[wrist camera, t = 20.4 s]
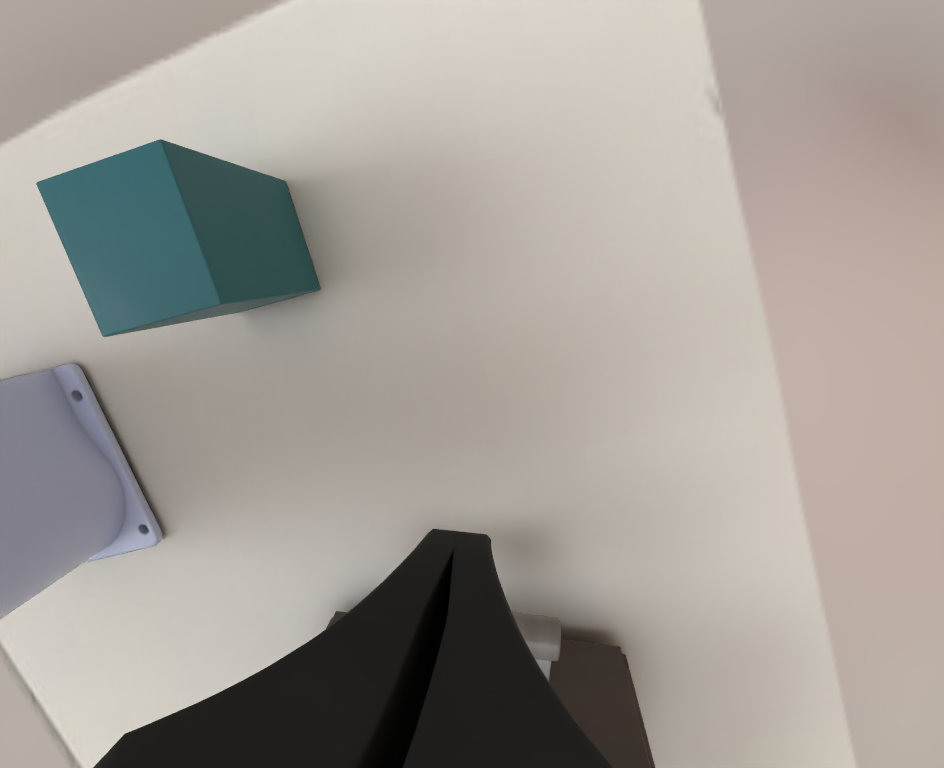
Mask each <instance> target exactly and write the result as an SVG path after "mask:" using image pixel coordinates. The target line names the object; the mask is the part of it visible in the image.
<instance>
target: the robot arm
mask: <svg viewBox="0 0 944 768" xmlns="http://www.w3.org/2000/svg"><path fill="white" fill-rule="evenodd" d="M79 392H80V393H81V395H82V397H81V396H80V394H79ZM145 526H147V527H148V529H147V528H146V527H145ZM162 537H163V535H162V532H161V530H160V528H159V526H158V523H157V521H156V519H155V517H154V515H153V513H152V511H151V509H150V507H149V505H148V503H147V501H146V499H145V497H144V495H143V493H142V491H141V489H140V487H139V485H138V483H137V481H136V479H135V477H134V475H133V473H132V471H131V469H130V467H129V465H128V463H127V460H126V458H125V456H124V454H123V452H122V450H121V448H120V446H119V444H118V442H117V440H116V438H115V436H114V434H113V432H112V430H111V428H110V426H109V424H108V422H107V420H106V418H105V416H104V414H103V412H102V410H101V408H100V406H99V404H98V402H97V400H96V397H95V395H94V393H93V391H92V389H91V387H90V385H89V383H88V381H87V379H86V377H85V375H84V373H83V371H82V370H81V368H80V367H79V366H78V365H76V364H73V363H68V364H63V365H60V366H57V367H54V368H51V369H46V370H42V371H38V372H33V373H29V374H24V375H20V376H16V377H11V378H7V379H3V380H0V619H2V618H3V617H5V616H6V615H8V614H9V613H11V612H12V611H13V610H15V609H16V608H18V607H19V606H21V605H22V604H24V603H25V602H27V601H28V600H29V599H31V598H32V597H34V596H35V595H37V594H38V593H40V592H41V591H43V590H44V589H45V588H47V587H48V586H50V585H51V584H53V583H54V582H56V581H57V580H59V579H60V578H61V577H63V576H64V575H66V574H67V573H69V572H70V571H72V570H73V569H75V568H76V567H77V566H79V565H80V564H82V563H85V562H89V561H93V560H97V559H102V558H106V557H110V556H114V555H118V554H123V553H127V552H131V551H135V550H140V549H144V548H148V547H152V546H155V545H157V544H158V543H159V542H160V541H161V540H162ZM94 768H613V767H612V766H611V764H610V763H609V762H608V761H607V760H606V758H605V757H604V756H603V755H602V753H601V752H600V751H599V750H598V748H597V747H596V746H595V745H594V744H593V742H592V741H591V740H590V739H589V737H588V736H587V735H586V734H585V732H584V731H583V730H582V728H581V727H580V725H579V724H578V723H577V721H576V720H575V718H574V717H573V716H572V714H571V713H570V711H569V710H568V709H567V707H566V706H565V705H564V703H563V702H562V700H561V699H560V698H559V696H558V695H557V693H556V692H555V691H554V689H553V688H552V686H551V684H550V683H549V681H548V680H547V678H546V676H545V675H544V673H543V671H542V670H541V668H540V667H539V665H538V663H537V661H536V660H535V658H534V656H533V654H532V653H531V651H530V649H529V647H528V645H527V643H526V642H525V640H524V638H523V636H522V634H521V632H520V630H519V628H518V625H517V623H516V621H515V619H514V617H513V614H512V612H511V610H510V607H509V605H508V603H507V600H506V598H505V595H504V592H503V589H502V587H501V584H500V581H499V578H498V575H497V572H496V568H495V564H494V560H493V556H492V550H491V539H490V538H489V537H488V536H487V535H486V534H477V533H467V532H458V531H448V530H439V529H433V530H431V531H430V532H429V533H428V534H427V535H426V536H425V538H424V539H423V540H422V541H421V542H420V543H419V545H418V546H417V547H416V548H415V549H414V550H413V551H412V552H411V554H410V555H409V556H408V557H407V558H406V559H405V560H404V561H403V562H402V563H401V564H400V565H399V566H398V567H397V568H396V569H395V570H394V571H393V572H392V573H391V574H390V575H389V576H388V577H387V578H386V579H385V580H384V581H383V582H382V583H381V584H380V585H379V586H378V587H377V588H376V589H375V590H373V591H372V592H371V593H370V594H369V595H368V596H367V597H366V598H364V599H363V600H362V601H361V602H360V603H359V604H358V605H357V606H355V607H354V608H353V609H352V610H351V611H349V612H348V613H347V614H346V615H344V616H343V617H342V618H341V619H339V620H338V621H337V622H335V623H334V624H333V625H331V626H330V627H329V628H327V629H326V630H325V631H323V632H322V633H321V634H319V635H318V636H316V637H315V638H313V639H312V640H310V641H309V642H307V643H306V644H304V645H302V646H301V647H299V648H298V649H296V650H294V651H293V652H291V653H290V654H288V655H286V656H285V657H283V658H282V659H280V660H278V661H277V662H275V663H274V664H272V665H270V666H268V667H267V668H265V669H263V670H261V671H259V672H258V673H256V674H254V675H252V676H250V677H248V678H247V679H245V680H243V681H241V682H239V683H237V684H235V685H233V686H231V687H229V688H227V689H225V690H223V691H221V692H219V693H217V694H215V695H213V696H211V697H209V698H207V699H205V700H203V701H201V702H198V703H196V704H194V705H192V706H189V707H187V708H185V709H182V710H180V711H178V712H176V713H173V714H171V715H169V716H166V717H164V718H162V719H159V720H157V721H155V722H152V723H150V724H148V725H146V726H143V727H141V728H138V729H136V730H133V731H131V732H128V733H126V734H124V735H123V736H122V737H121V738H120V740H119V741H118V742H117V743H116V744H115V745H114V746H113V747H112V748H111V749H110V750H109V751H108V753H107V754H106V755H105V756H104V757H103V758H102V759H101V760H100V761H99V762H98V763H97V764H96V765H95V766H94Z"/></svg>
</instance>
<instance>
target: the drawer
mask: <svg viewBox="0 0 944 768" xmlns="http://www.w3.org/2000/svg"><path fill="white" fill-rule="evenodd" d="M346 614H347V613H346V612H338V611H336V612H335V614H334V616H333V618H332V620H331V622H330V624H329V626H328V628H329V627H330V626H331V625H333V624H334V623H335V622H337V621H338V620H339V619H341V618H342V617H343V616H344V615H346ZM512 614H513V617H514V619H515V621H516V623H517V625H518V628H519V630H520V632H521V634H522V636H523V638H524V640H525V642H526V643H527V645H528V647H529V649H530V651H531V653H532V654H533V656H534V658H535V660H536V661H537V663H538V665H539V667H540V668H541V670H542V671H543V673H544V675H545V676H546V678H547V680H548V681H549V683H550V684H551V686H552V688H553V689H554V691H555V692H556V693H557V695H558V696H559V698H560V699H561V700H562V702H563V703H564V705H565V706H566V707H567V709H568V710H569V711H570V713H571V714H572V716H573V717H574V718H575V720H576V721H577V723H578V724H579V725H580V727H581V728H582V730H583V731H584V732H585V734H586V735H587V736H588V737H589V739H590V740H591V741H592V742H593V744H594V745H595V746H596V747H597V748H598V750H599V751H600V752H601V753H602V755H603V756H604V757H605V758H606V760H607V761H608V762H609V763H610V764H611V766H612V767H613V768H651V767H650V763H649V759H648V755H647V751H646V747H645V743H644V739H643V735H642V731H641V727H640V723H639V719H638V715H637V711H636V708H635V704H634V700H633V696H632V692H631V688H630V684H629V680H628V676H627V672H626V668H625V664H624V660H623V656H622V652H621V648H620V647H619V646H612V645H604V644H596V643H588V642H580V641H572V640H564V639H561V627H560V621H559V619H558V618H555V617H547V616H539V615H530V614H522V613H514V612H512Z"/></svg>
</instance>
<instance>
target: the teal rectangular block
mask: <svg viewBox="0 0 944 768" xmlns="http://www.w3.org/2000/svg"><path fill="white" fill-rule="evenodd" d="M37 186H38V189H39V191H40V193H41V195H42V198H43V200H44V202H45V205H46V207H47V209H48V212H49V214H50V216H51V218H52V221H53V223H54V225H55V228H56V230H57V232H58V235H59V237H60V239H61V241H62V244H63V246H64V248H65V251H66V253H67V255H68V258H69V260H70V262H71V264H72V267H73V269H74V271H75V274H76V276H77V278H78V281H79V283H80V285H81V287H82V290H83V292H84V294H85V297H86V299H87V301H88V304H89V306H90V308H91V310H92V313H93V315H94V317H95V320H96V322H97V324H98V327H99V329H100V331H101V333H102V336H103V337H107V336H113V335H118V334H124V333H129V332H134V331H140V330H145V329H151V328H156V327H162V326H167V325H173V324H178V323H184V322H189V321H194V320H200V319H205V318H211V317H216V316H222V315H227V314H233V313H238V312H241V311H245V310H249V309H252V308H256V307H260V306H263V305H267V304H271V303H274V302H278V301H282V300H285V299H289V298H293V297H297V296H300V295H304V294H308V293H311V292H315V291H319V290H320V286H319V283H318V280H317V277H316V274H315V271H314V267H313V264H312V261H311V258H310V255H309V252H308V249H307V246H306V243H305V240H304V237H303V233H302V230H301V227H300V224H299V221H298V218H297V215H296V212H295V209H294V206H293V202H292V199H291V196H290V193H289V190H288V187H287V184H286V181H284V180H281V179H278V178H275V177H272V176H269V175H266V174H263V173H260V172H257V171H254V170H251V169H248V168H245V167H242V166H239V165H236V164H233V163H230V162H227V161H224V160H221V159H218V158H215V157H212V156H209V155H206V154H203V153H200V152H197V151H194V150H191V149H188V148H185V147H182V146H179V145H176V144H173V143H170V142H167V141H164V140H157V141H154V142H151V143H149V144H146V145H143V146H140V147H137V148H134V149H131V150H129V151H126V152H123V153H120V154H117V155H114V156H111V157H108V158H106V159H103V160H100V161H97V162H94V163H91V164H88V165H85V166H83V167H80V168H77V169H74V170H71V171H68V172H65V173H62V174H60V175H57V176H54V177H51V178H48V179H45V180H42V181H40V182H37Z"/></svg>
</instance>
